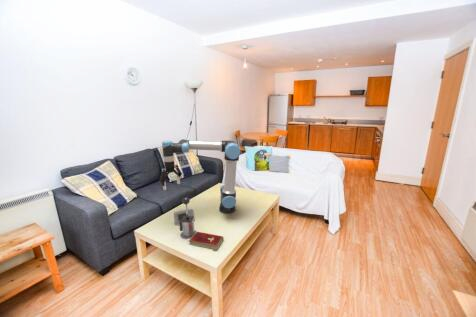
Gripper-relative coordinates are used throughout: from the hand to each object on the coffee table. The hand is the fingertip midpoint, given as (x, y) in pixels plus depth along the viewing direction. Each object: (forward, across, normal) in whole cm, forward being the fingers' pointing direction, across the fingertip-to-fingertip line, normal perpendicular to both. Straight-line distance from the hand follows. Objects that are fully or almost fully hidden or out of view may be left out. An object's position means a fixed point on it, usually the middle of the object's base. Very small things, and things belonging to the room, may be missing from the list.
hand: (172, 186), depth 173 cm
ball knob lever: (+20, +7, +23) cm, 32 cm away
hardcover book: (+32, +6, +40) cm, 52 cm away
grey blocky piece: (+30, +7, +23) cm, 39 cm away
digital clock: (+31, -3, +7) cm, 32 cm away
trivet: (+31, +7, +23) cm, 39 cm away
